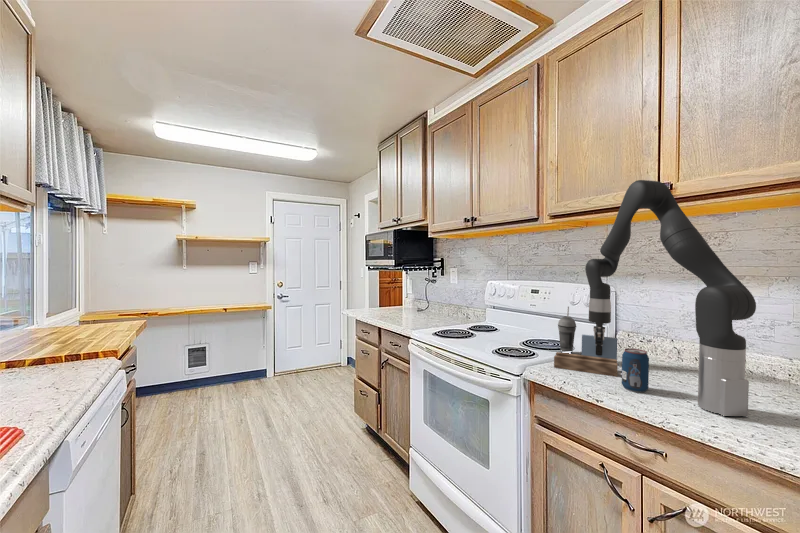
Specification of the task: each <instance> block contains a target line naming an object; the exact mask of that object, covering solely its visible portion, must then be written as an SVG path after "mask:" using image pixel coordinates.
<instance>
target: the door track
mask: <svg viewBox="0 0 800 533" xmlns="http://www.w3.org/2000/svg"><path fill="white" fill-rule="evenodd" d="M618 366H619V365H618V359H617V360H616V359H609V358H601V357H593V356H585V355H581V354H576V353H572V354H569V353H561V351H560V352H559V351H556V352H555V355H554V357H553V368H554V369H555V368H556V369H563V370H568V371H576V372H583V373H588V374H596V375H603V376H610V377H618Z"/></svg>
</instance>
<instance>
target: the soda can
mask: <svg viewBox="0 0 800 533" xmlns="http://www.w3.org/2000/svg"><path fill="white" fill-rule="evenodd" d="M649 372H650V357H649V355H648V352H647V351H646V350H643V349H639V348H630V347H629V348H624V351H623V353H622V354H621V386H623V388H624V389H625V390H626V391H630V392H633V393H640V394H641V393H645V392H647V390H648V388H649V381H650V380H649V379H650V378H649V377H650V376H649Z"/></svg>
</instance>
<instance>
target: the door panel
mask: <svg viewBox="0 0 800 533" xmlns="http://www.w3.org/2000/svg"><path fill="white" fill-rule="evenodd" d="M597 342H601V341H599V340H597ZM580 355H585V356H593V357H601V358H609V359H616V360H617V361H618V337H611V336H604V340H603V346H602V355H601V356H600V355H596V344H595V339H594V334H593V335H592V334H581V354H580Z"/></svg>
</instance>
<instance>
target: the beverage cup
mask: <svg viewBox="0 0 800 533" xmlns="http://www.w3.org/2000/svg"><path fill="white" fill-rule="evenodd" d="M566 311H567V313H566V316H562V317H561V318H560V319H559V320H558V323H557V328H558V334H559V350H560V351H561V350H562V351H572V352H573V351H574V343H575V342H574V341H575V335H576V329H577V324H576V321H575V320H574V318H573V317H571V316H569V313H570V306H567V310H566Z"/></svg>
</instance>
